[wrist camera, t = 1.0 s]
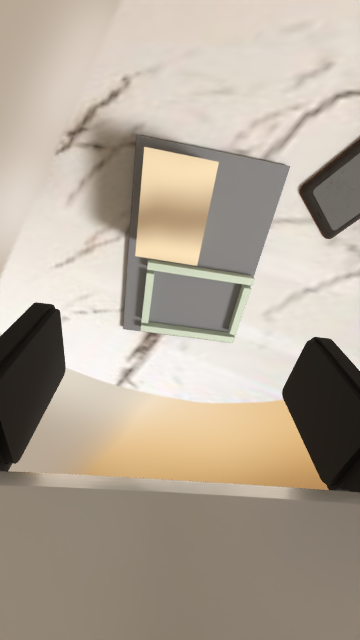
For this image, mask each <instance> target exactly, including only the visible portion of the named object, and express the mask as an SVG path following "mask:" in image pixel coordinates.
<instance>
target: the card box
mask: <svg viewBox="0 0 360 640" xmlns="http://www.w3.org/2000/svg"><path fill="white" fill-rule="evenodd" d="M218 164H219V162H217V161H212V160H207V159H202V158H197V157H192V156H187V155H182V154H177V153H173V152H168V151H163V150H158V149H153V148H148V147H144V156H143V168H142V180H141V192H140V204H139V216H138V228H137V240H136V252H135V256H138V257H144V258H150V259H157V260H163V261H169V262H176V263H182V264H188V265H195V266H197V264H198V260H199V255H200V250H201V245H202V240H203V236H204V231H205V226H206V221H207V217H208V212H209V207H210V202H211V198H212V193H213V188H214V183H215V179H216V174H217V169H218Z"/></svg>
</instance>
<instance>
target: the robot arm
mask: <svg viewBox="0 0 360 640" xmlns="http://www.w3.org/2000/svg"><path fill="white" fill-rule="evenodd" d="M64 373H65V357H64V347H63V337H62V327H61V317H60V311H59V310H58V309H55V307H54V305H52V304H44V303H34V304H33V305H32V306H31V307H30V308H29V309H28V310H27V311H26V312H25V313H24V314H23V315H22V316H21V317H20V318H19V319H18V320H17V321H16V322H15V323H14V324H12V325H11V326H10V327H9V328H8V329H7V330H6V331H5V332H4V333H3V334H2V335H1V336H0V640H360V371H359V370H358V369H357V367H356V366H355V365H354V364H353V363H352V362H351V361H350V360H349V358H348V357H347V356H346V355H345V354H344V353H343V352H342V351H341V350H340V348H339V347H338V346H337V345H336V344H335V343H334V342H333V341H332V340H331V339H328V338H319V337H314V338H312V339H311V340H309V341H307V343H306V344H305V346H304V348H303V350H302V352H301V354H300V356H299V358H298V360H297V362H296V364H295V366H294V368H293V370H292V372H291V374H290V376H289V378H288V380H287V382H286V384H285V386H284V388H283V391H282V395H283V399H284V401H285V403H286V405H287V407H288V409H289V412H290V414H291V416H292V418H293V420H294V422H295V425H296V427H297V429H298V431H299V433H300V435H301V438H302V440H303V442H304V444H305V446H306V448H307V450H308V452H309V455H310V457H311V459H312V461H313V463H314V466H315V468H316V470H317V472H318V474H319V476H320V478H321V480H322V481H323V482H324V483H325V484H326V485H327V487H328V489H329V490H318V489H317V490H316V489H303V488H289V487H273V486H257V485H242V484H227V483H211V482H194V481H179V480H163V479H145V478H128V477H110V476H94V475H77V474H56V473H55V474H54V473H31V472H8V470H9V468H10V466H11V465H12V463H17V462H18V461H19V460H20V458H21V456H22V455H23V453H24V451H25V449H26V447H27V445H28V443H29V441H30V439H31V437H32V436H33V433H34V431H35V430H36V428H37V426H38V424H39V422H40V420H41V418H42V416H43V414H44V412H45V411H46V409H47V407H48V405H49V403H50V401H51V399H52V397H53V395H54V393H55V392H56V390H57V387H58V386H59V384H60V382H61V380H62V378H63V376H64Z"/></svg>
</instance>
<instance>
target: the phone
mask: <svg viewBox="0 0 360 640" xmlns="http://www.w3.org/2000/svg"><path fill="white" fill-rule="evenodd" d="M300 194H301V196H302V198H303V200H304V202H305V204H306V205H307V207H308V209H309V211H310V213H311V214H312V216H313V218H314V220H315V222H316V224H317V225H318V227H319V229H320V231H321V233H322V234H323V236H324V237H325V238H326V239H331V238H333V237H334V236H336V235H337V234H339V233H340V232H341V231H343V230H344V229H346V228H347V227H348V226H350V225H351V224H353V223H354V222H356V221H357V220H358V219H360V140H358V141H357V142H356V143H355V144H353V145H352V146H351V147H350V148H348V149H347V150H346V151H345V152H344V153H342V154H341V155H340V156H339V157H337V158H336V159H335V160H334V161H332V162H331V163H330V164H329V165H327V166H326V167H325V168H324V169H323V170H321V171H320V172H319V173H318V174H316V175H315V176H314V177H313V178H311V179H310V180H309V181H308V182H306V183H305V184H304V185H303V186H302V187H301V189H300Z"/></svg>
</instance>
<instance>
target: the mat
mask: <svg viewBox="0 0 360 640" xmlns="http://www.w3.org/2000/svg"><path fill="white" fill-rule="evenodd" d="M144 147H148V148H153V149H158V150H163V151H168V152H173V153H177V154H182V155H187V156H192V157H197V158H202V159H207V160H212V161H217V162H219V164H218V169H217V174H216V179H215V183H214V188H213V193H212V198H211V202H210V207H209V212H208V217H207V221H206V226H205V231H204V236H203V240H202V245H201V250H200V255H199V260H198V264H197V266H195V265H188V264H182V263H176V262H169V261H163V260H157V259H150V258H144V257H138V256H135V252H136V240H137V228H138V216H139V204H140V192H141V180H142V168H143V156H144ZM289 168H290V166H286V165H282V164H277V163H272V162H267V161H262V160H258V159H253V158H248V157H243V156H238V155H234V154H229V153H224V152H219V151H214V150H210V149H205V148H200V147H195V146H190V145H186V144H181V143H176V142H171V141H166V140H162V139H157V138H152V137H147V136H142V135H137V134H136V149H135V163H134V178H133V192H132V207H131V221H130V236H129V250H128V265H127V279H126V294H125V308H124V323H123V329H127V330H135V331H143V332H151V333H158V334H166V335H174V336H182V337H190V338H197V339H205V340H213V341H221V342H229V343H233V342H234V339H235V337H234V335H236V333H237V330H238V327H239V324H240V321H241V318H242V315H243V312H244V309H245V306H246V303H247V300H248V297H249V294H250V291H251V288H250V286H252V285H253V282H254V278H253V277H254V274H255V271H256V268H257V265H258V262H259V259H260V256H261V253H262V250H263V247H264V244H265V241H266V238H267V235H268V232H269V229H270V226H271V223H272V220H273V216H274V213H275V210H276V207H277V204H278V201H279V198H280V195H281V192H282V189H283V186H284V183H285V180H286V177H287V174H288V171H289Z"/></svg>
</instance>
